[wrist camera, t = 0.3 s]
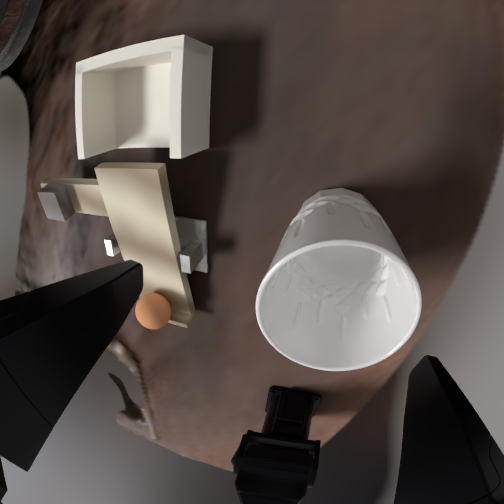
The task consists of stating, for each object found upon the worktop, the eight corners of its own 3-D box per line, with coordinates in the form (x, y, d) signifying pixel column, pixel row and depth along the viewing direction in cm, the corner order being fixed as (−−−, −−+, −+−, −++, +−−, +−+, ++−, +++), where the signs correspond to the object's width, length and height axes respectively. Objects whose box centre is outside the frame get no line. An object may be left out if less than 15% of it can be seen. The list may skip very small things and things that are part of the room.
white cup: (352, 158, 18) (375, 203, 9) (404, 244, 20) (440, 335, 11) (266, 216, 22) (221, 293, 13) (322, 289, 23) (311, 385, 15)
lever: (197, 311, 28) (188, 330, 26) (90, 280, 31) (79, 294, 29) (167, 163, 18) (147, 180, 16) (42, 165, 21) (25, 178, 19)
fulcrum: (208, 271, 26) (194, 291, 23) (127, 254, 27) (109, 269, 25) (207, 220, 23) (190, 236, 20) (120, 208, 25) (99, 222, 22)
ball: (180, 312, 27) (165, 340, 25) (151, 304, 28) (136, 330, 26) (172, 290, 25) (156, 319, 23) (141, 282, 26) (124, 309, 23)
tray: (209, 147, 20) (181, 158, 16) (113, 147, 22) (78, 159, 18) (212, 47, 16) (184, 34, 12) (112, 64, 18) (76, 62, 14)
